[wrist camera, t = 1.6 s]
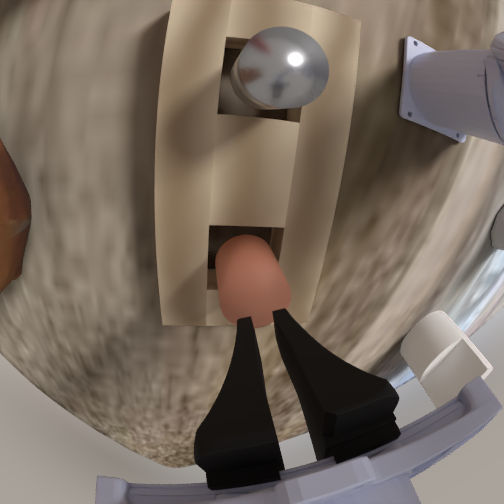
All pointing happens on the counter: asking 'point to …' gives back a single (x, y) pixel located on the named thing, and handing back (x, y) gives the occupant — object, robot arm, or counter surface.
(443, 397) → the base with upright slab
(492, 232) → the flask
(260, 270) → the pink rounded block
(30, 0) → the counter surface
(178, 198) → the socket block
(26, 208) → the butternut squash
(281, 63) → the steel plunger
